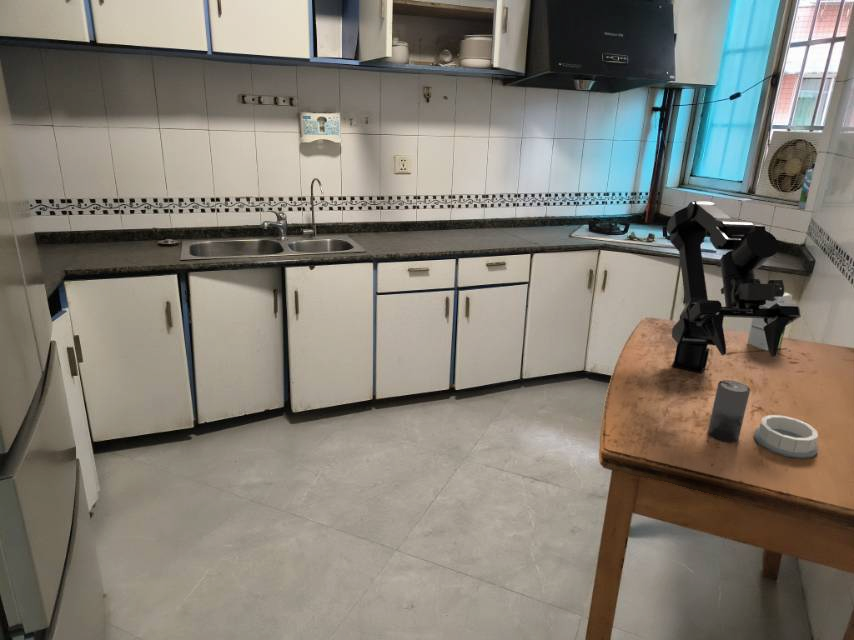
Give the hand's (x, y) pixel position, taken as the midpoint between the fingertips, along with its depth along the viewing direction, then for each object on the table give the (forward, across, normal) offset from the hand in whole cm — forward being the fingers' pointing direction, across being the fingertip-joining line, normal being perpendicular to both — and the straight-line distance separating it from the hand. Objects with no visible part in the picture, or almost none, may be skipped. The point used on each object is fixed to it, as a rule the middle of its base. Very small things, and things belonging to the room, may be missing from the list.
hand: (748, 355), depth 112 cm
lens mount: (+16, +5, +1) cm, 17 cm away
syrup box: (-15, +25, +40) cm, 49 cm away
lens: (+15, -5, +3) cm, 16 cm away
